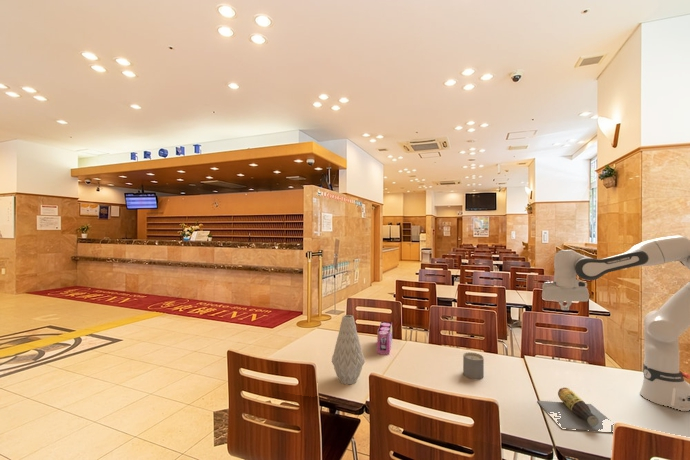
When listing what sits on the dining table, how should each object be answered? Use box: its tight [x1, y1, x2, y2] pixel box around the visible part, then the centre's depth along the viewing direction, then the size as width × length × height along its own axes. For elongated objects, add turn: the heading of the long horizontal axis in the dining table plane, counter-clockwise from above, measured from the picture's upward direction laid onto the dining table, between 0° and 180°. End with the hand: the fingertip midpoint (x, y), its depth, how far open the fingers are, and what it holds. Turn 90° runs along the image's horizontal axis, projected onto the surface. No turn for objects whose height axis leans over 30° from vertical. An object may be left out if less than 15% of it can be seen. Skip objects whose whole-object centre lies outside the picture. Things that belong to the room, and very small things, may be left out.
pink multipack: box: [376, 321, 393, 356], centre depth 201 cm, size 24×8×14 cm, turn 167°
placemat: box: [536, 400, 615, 432], centre depth 127 cm, size 22×19×1 cm
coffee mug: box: [462, 351, 485, 380], centre depth 165 cm, size 13×10×10 cm
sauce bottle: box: [557, 387, 599, 426], centre depth 128 cm, size 6×6×20 cm
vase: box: [331, 314, 365, 385], centre depth 158 cm, size 17×17×33 cm
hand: (565, 309), depth 154 cm, fingers closed
